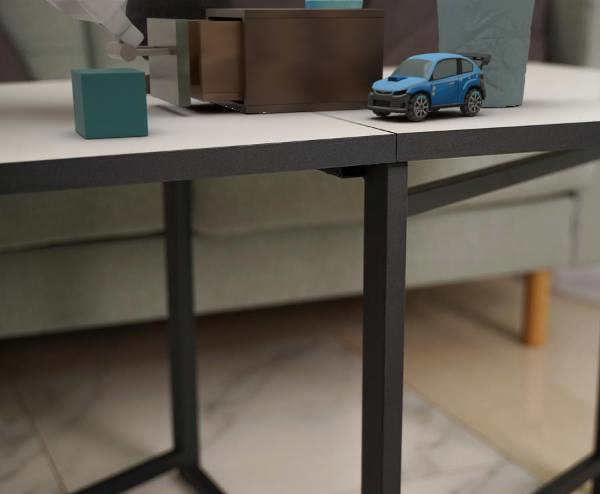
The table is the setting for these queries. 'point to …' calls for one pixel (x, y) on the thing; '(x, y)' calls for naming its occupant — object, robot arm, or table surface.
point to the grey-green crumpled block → (490, 42)
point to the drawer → (190, 59)
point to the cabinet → (307, 58)
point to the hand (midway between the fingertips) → (136, 43)
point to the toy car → (431, 86)
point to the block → (109, 102)
